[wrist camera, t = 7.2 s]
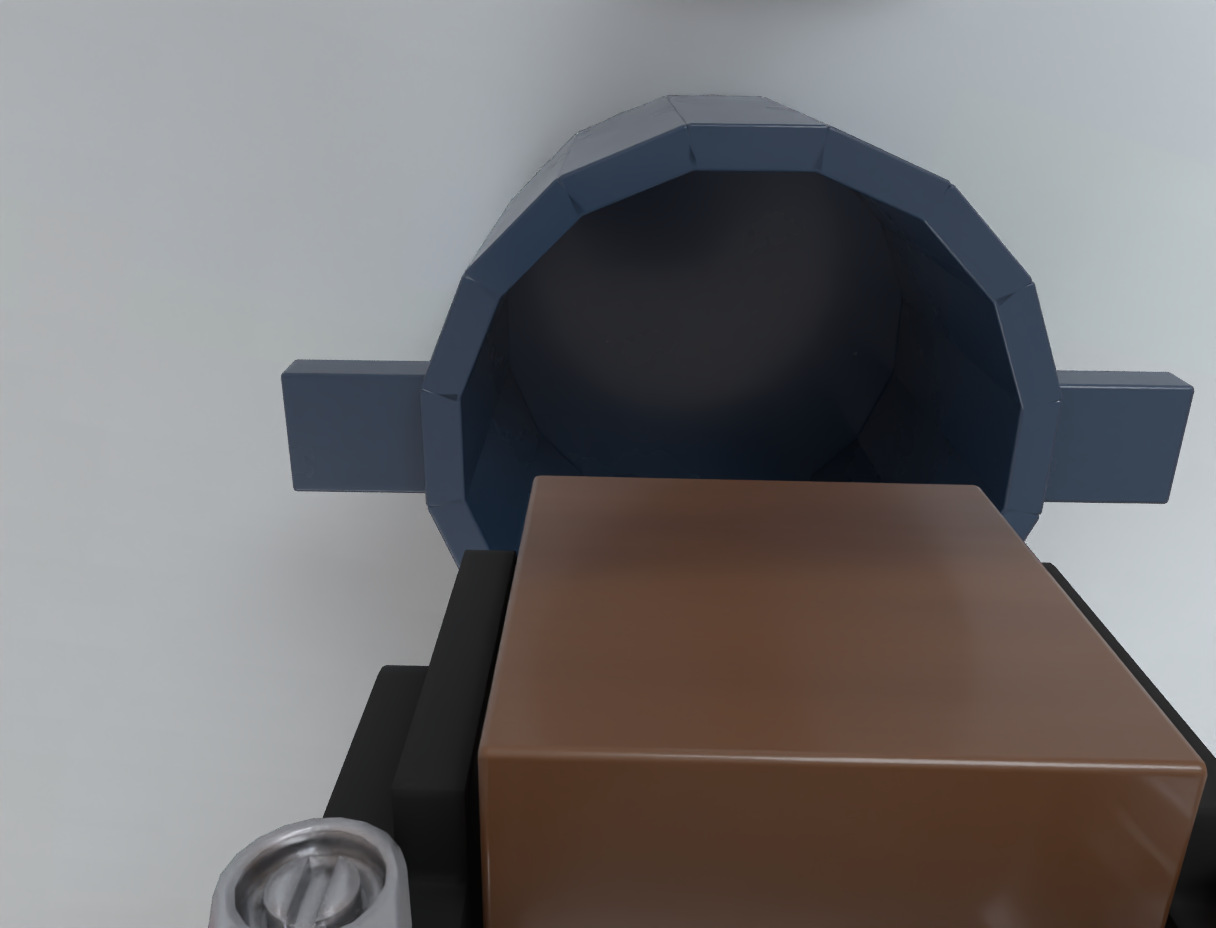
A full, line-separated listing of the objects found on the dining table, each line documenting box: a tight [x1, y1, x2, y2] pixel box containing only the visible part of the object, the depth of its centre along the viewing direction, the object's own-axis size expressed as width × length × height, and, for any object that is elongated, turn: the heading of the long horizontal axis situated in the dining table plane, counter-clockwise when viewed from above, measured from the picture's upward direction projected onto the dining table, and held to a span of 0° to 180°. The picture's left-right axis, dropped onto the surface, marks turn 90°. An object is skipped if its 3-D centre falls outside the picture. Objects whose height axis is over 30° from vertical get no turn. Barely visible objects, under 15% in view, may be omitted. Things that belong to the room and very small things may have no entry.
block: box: [478, 475, 1207, 928], centre depth 9 cm, size 5×5×5 cm
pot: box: [281, 95, 1194, 569], centre depth 23 cm, size 12×17×9 cm
